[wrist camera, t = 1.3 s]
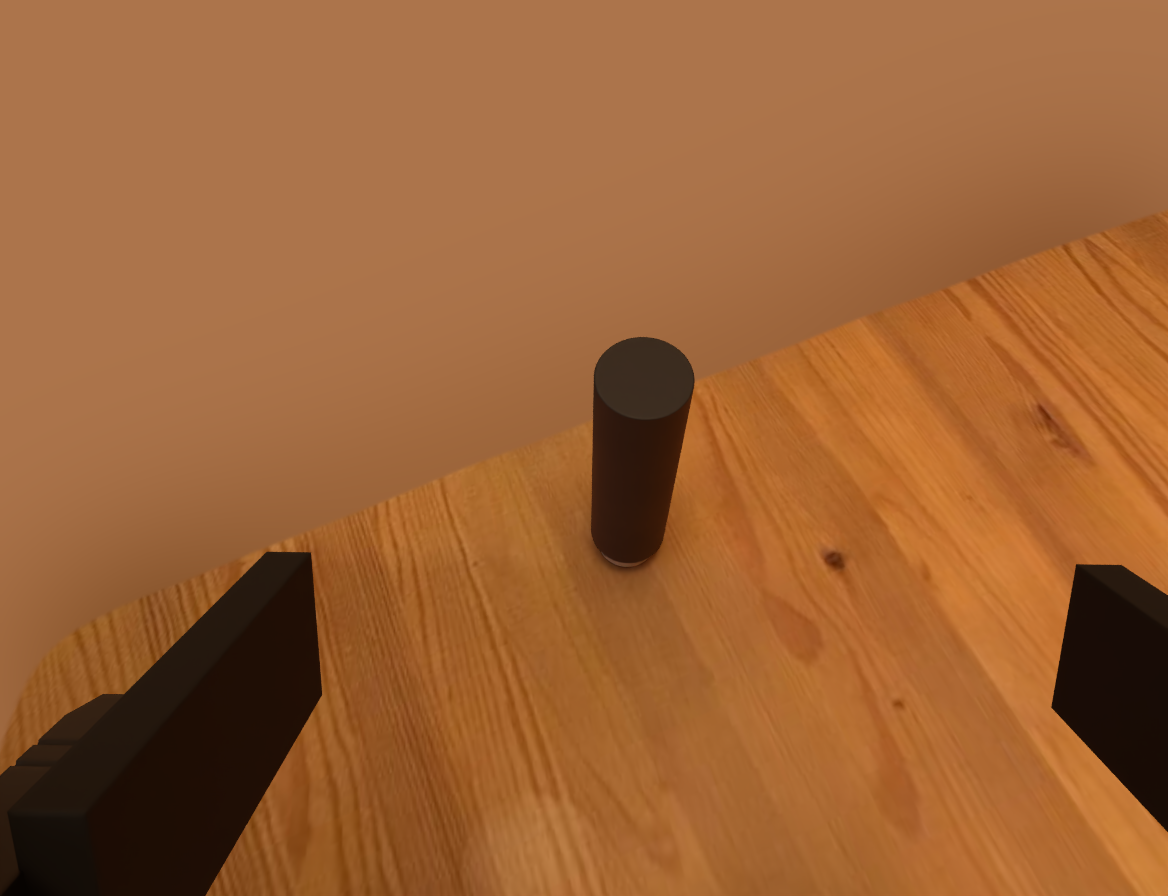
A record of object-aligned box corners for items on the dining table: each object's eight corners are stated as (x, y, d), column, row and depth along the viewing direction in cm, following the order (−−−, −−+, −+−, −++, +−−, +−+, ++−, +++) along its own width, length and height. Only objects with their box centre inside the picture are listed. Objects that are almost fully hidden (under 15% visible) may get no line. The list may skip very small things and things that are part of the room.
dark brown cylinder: (584, 566, 37) (584, 409, 26) (598, 502, 39) (604, 329, 28) (655, 580, 37) (686, 428, 26) (667, 516, 39) (701, 345, 27)
